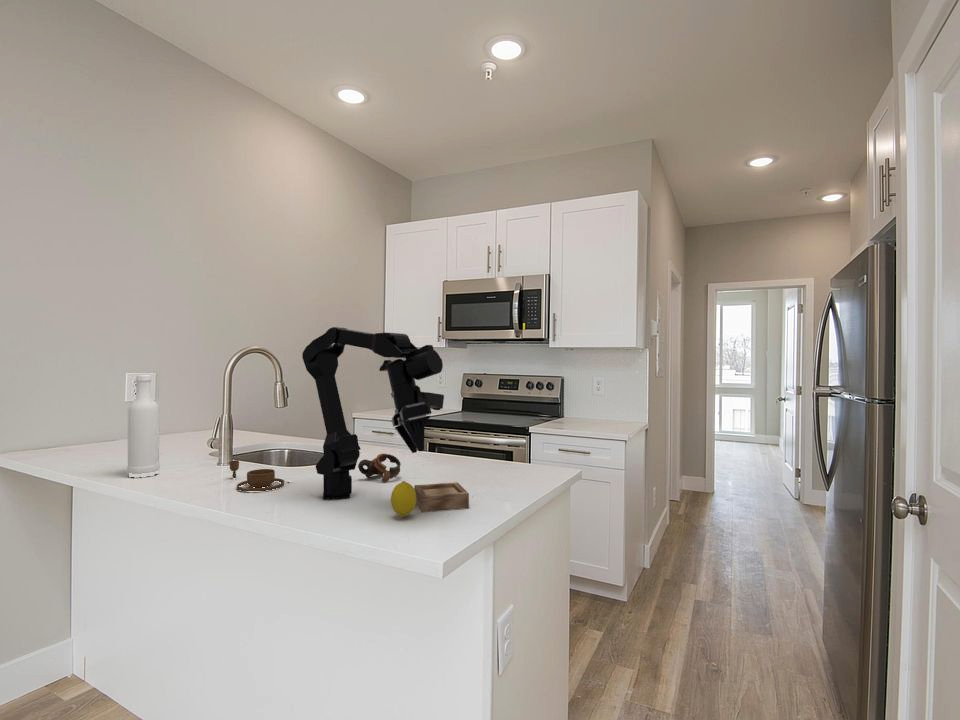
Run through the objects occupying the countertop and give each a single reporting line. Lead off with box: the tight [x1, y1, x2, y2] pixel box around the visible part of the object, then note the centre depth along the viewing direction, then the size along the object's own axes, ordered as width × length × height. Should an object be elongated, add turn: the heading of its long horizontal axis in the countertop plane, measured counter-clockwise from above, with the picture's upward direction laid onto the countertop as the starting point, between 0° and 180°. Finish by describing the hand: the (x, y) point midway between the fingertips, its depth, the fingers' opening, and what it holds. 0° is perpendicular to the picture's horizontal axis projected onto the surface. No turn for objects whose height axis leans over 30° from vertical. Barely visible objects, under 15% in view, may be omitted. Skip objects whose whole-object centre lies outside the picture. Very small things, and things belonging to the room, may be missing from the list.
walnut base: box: [413, 481, 470, 513], centre depth 121 cm, size 11×11×4 cm
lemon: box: [390, 480, 417, 519], centre depth 110 cm, size 6×6×8 cm
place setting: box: [229, 459, 285, 492], centre depth 140 cm, size 18×20×6 cm
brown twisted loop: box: [357, 453, 402, 483], centre depth 145 cm, size 12×10×8 cm
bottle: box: [126, 374, 161, 474], centre depth 150 cm, size 8×8×30 cm
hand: (418, 451), depth 114 cm, fingers open, 9 cm apart
